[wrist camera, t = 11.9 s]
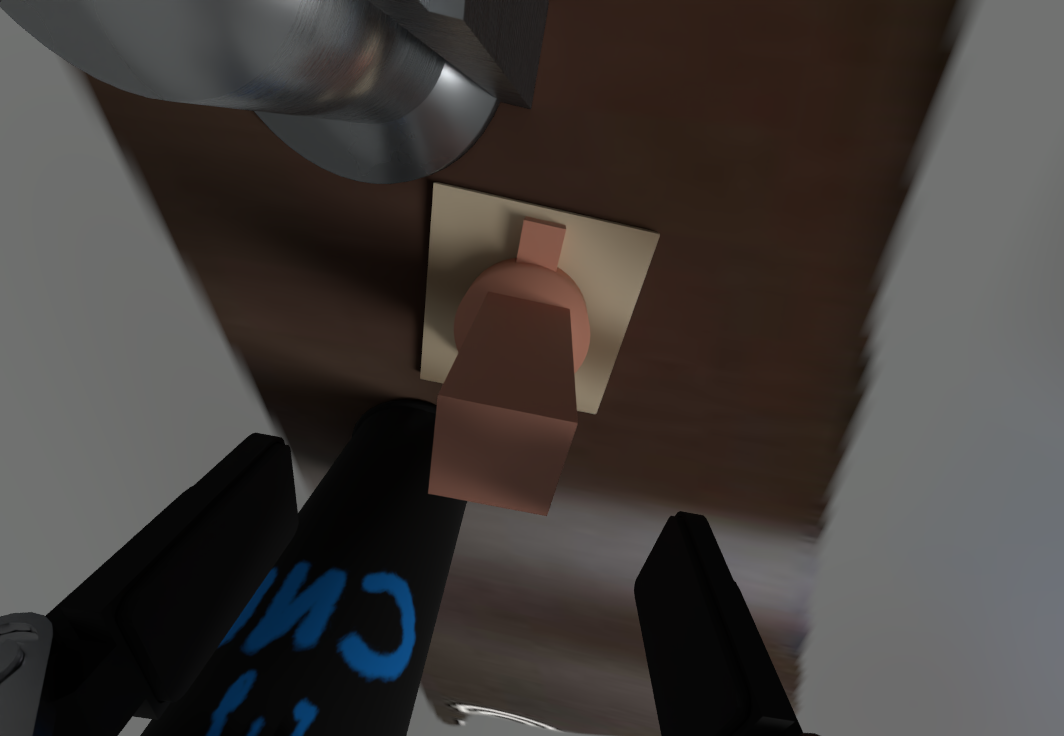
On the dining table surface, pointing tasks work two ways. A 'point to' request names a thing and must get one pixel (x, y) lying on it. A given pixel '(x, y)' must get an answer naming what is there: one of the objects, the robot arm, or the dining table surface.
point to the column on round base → (316, 68)
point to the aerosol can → (339, 600)
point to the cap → (512, 380)
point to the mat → (494, 235)
